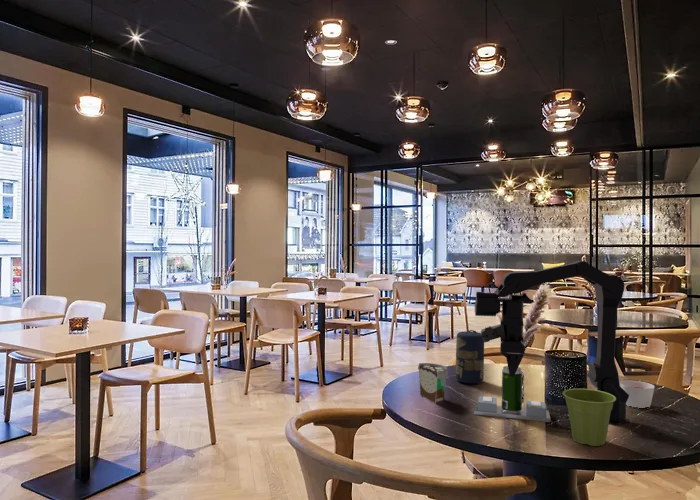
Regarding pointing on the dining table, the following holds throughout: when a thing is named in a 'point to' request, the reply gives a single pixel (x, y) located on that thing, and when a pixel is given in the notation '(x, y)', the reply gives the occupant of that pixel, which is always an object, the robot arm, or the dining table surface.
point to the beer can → (511, 391)
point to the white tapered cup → (638, 393)
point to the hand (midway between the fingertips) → (511, 372)
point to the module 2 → (535, 408)
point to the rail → (512, 414)
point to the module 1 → (487, 404)
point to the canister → (469, 357)
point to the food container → (432, 381)
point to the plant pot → (589, 414)
